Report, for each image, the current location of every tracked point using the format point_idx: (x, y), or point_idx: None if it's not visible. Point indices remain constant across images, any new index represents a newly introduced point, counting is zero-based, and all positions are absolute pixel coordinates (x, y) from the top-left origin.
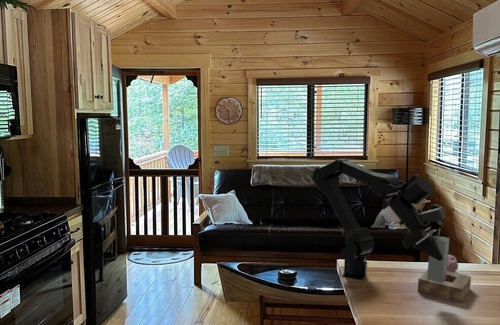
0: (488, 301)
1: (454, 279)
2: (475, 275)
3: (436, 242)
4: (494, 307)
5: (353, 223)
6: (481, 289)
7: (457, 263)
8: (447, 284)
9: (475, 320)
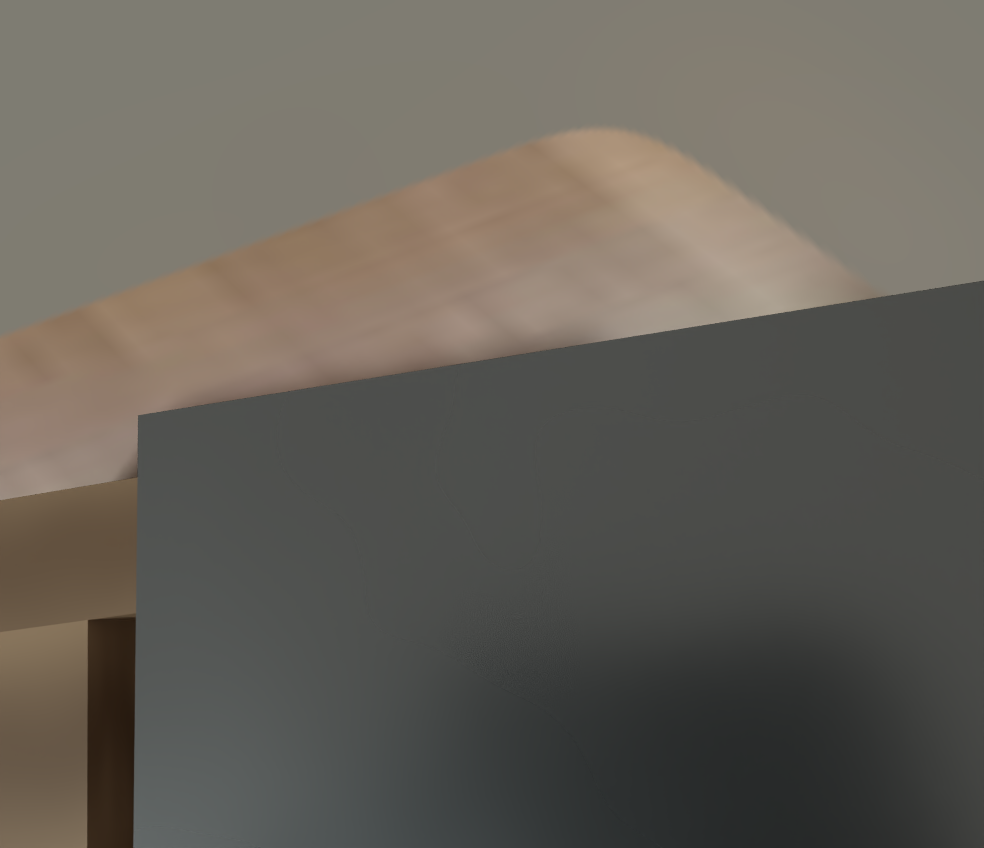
0: (257, 296)
1: (112, 650)
2: None
3: None
4: (352, 214)
5: None
6: (21, 443)
7: None
8: None
9: (766, 212)
